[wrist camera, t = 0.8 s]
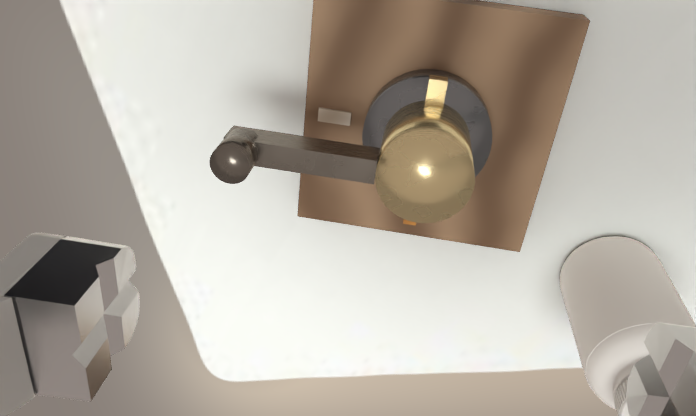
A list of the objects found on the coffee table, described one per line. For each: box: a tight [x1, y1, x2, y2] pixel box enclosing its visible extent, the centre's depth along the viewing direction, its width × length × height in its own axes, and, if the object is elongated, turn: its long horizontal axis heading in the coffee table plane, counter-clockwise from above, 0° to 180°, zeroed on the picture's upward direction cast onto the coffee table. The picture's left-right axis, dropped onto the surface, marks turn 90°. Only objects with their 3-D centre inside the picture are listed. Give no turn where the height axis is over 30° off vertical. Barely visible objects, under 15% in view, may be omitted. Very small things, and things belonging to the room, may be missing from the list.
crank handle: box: [210, 75, 475, 223], centre depth 38 cm, size 16×10×8 cm, turn 84°
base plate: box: [298, 0, 590, 252], centre depth 44 cm, size 18×18×2 cm
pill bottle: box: [560, 236, 696, 416], centre depth 42 cm, size 8×8×15 cm
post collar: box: [362, 69, 492, 177], centre depth 42 cm, size 9×9×2 cm
